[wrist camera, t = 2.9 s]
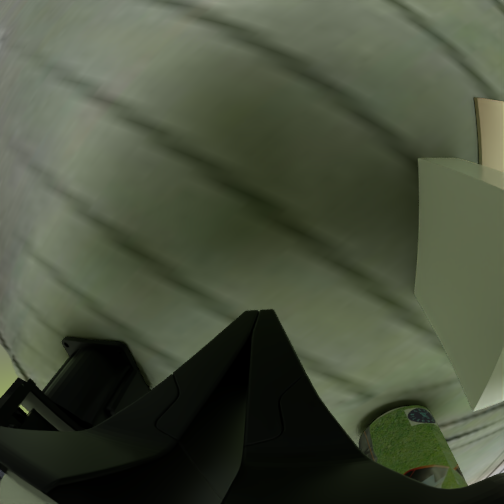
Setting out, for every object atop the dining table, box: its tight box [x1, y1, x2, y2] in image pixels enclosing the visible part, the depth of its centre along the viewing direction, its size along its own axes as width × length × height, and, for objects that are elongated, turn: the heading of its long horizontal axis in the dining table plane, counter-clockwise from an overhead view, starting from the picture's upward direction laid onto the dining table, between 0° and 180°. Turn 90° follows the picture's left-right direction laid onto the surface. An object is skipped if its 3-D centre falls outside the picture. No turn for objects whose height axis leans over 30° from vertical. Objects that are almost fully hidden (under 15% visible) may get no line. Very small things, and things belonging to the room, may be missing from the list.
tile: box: [414, 158, 504, 412], centre depth 9 cm, size 2×7×8 cm, turn 9°
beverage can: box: [359, 405, 468, 489], centre depth 13 cm, size 6×7×12 cm
